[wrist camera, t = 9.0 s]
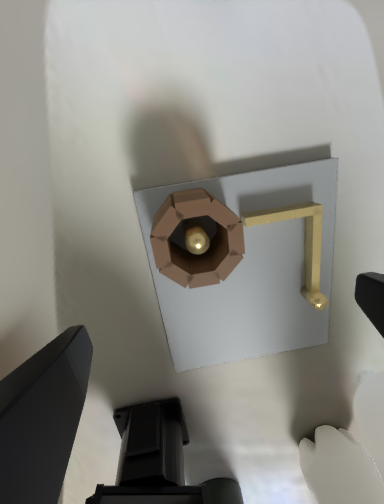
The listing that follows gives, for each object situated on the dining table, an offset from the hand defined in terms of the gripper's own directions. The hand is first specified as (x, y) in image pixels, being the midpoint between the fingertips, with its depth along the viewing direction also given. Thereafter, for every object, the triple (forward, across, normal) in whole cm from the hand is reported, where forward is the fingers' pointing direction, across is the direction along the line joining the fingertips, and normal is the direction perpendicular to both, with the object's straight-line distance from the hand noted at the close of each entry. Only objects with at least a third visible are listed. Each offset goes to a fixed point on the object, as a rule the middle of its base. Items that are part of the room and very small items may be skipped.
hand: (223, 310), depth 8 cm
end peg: (+11, 0, 0) cm, 11 cm away
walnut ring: (+11, 0, 0) cm, 11 cm away
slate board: (+11, -3, +5) cm, 13 cm away
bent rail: (+11, -6, +4) cm, 13 cm away
